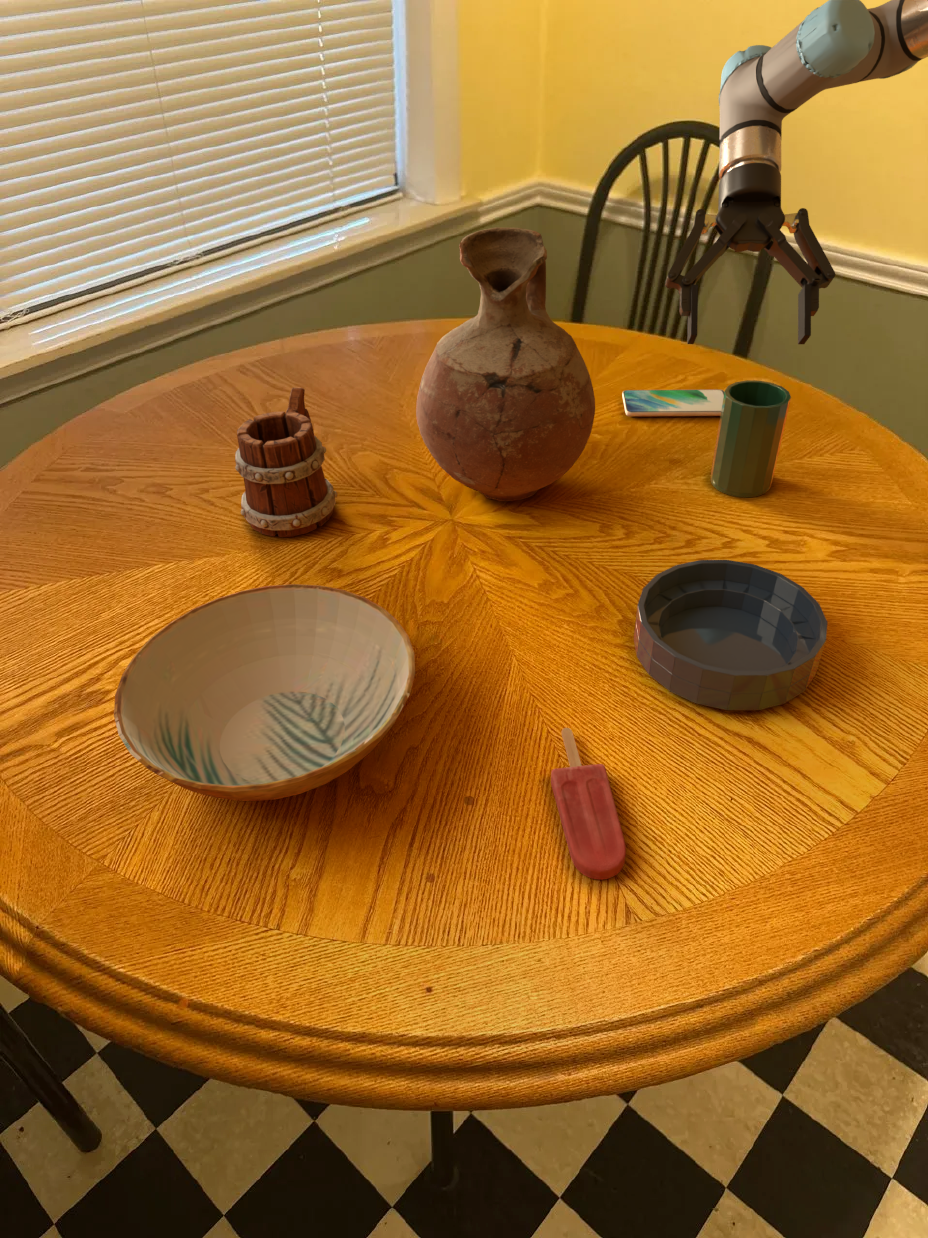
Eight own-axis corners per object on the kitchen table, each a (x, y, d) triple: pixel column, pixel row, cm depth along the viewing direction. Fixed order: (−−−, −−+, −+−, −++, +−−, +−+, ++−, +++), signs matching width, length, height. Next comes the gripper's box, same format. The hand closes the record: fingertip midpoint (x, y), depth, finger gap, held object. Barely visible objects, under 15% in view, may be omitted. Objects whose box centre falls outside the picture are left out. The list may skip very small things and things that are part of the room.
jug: (399, 516, 106) (375, 264, 87) (448, 434, 122) (437, 206, 102) (574, 538, 101) (589, 275, 82) (601, 450, 117) (620, 213, 97)
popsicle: (591, 719, 76) (635, 865, 65) (589, 732, 77) (632, 878, 66) (540, 724, 76) (575, 872, 64) (539, 737, 77) (574, 885, 65)
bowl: (450, 662, 85) (446, 599, 80) (373, 880, 66) (361, 815, 61) (217, 632, 90) (199, 570, 85) (83, 826, 71) (50, 762, 66)
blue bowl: (754, 584, 93) (763, 546, 90) (852, 691, 80) (866, 651, 77) (606, 616, 89) (610, 578, 86) (683, 733, 77) (691, 693, 73)
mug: (223, 538, 103) (204, 415, 95) (269, 495, 115) (255, 382, 107) (317, 546, 101) (305, 420, 93) (353, 501, 113) (345, 386, 105)
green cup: (751, 463, 112) (768, 376, 105) (782, 491, 107) (803, 401, 99) (699, 473, 111) (713, 385, 103) (728, 502, 106) (745, 411, 98)
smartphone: (732, 411, 122) (626, 412, 123) (731, 417, 123) (625, 417, 123) (724, 388, 127) (621, 389, 128) (723, 394, 128) (621, 394, 129)
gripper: (841, 193, 111) (841, 352, 110) (646, 195, 114) (642, 351, 112) (862, 157, 104) (863, 326, 102) (653, 160, 106) (650, 326, 104)
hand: (747, 340), depth 107 cm, fingers open, 13 cm apart
